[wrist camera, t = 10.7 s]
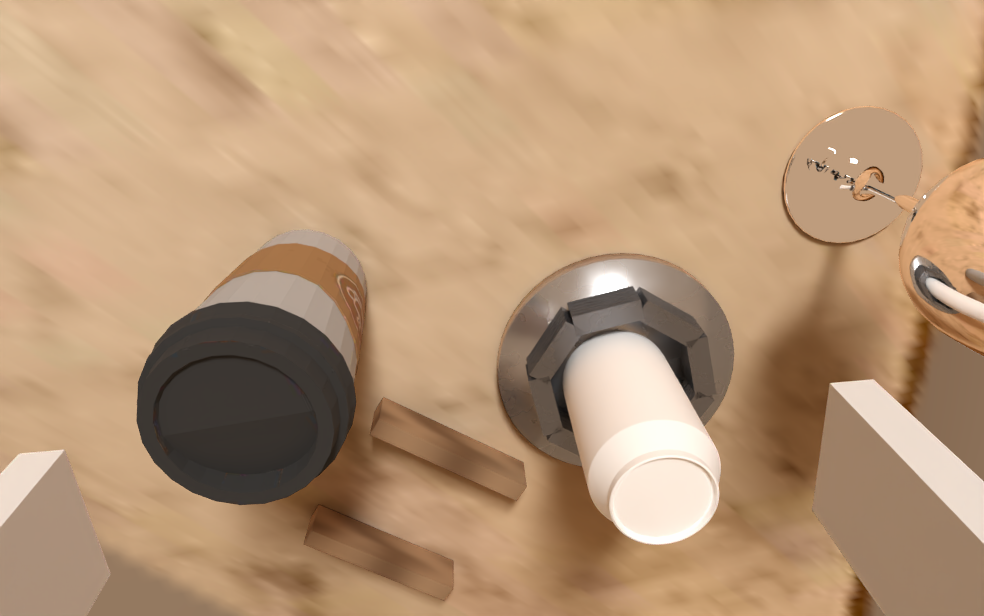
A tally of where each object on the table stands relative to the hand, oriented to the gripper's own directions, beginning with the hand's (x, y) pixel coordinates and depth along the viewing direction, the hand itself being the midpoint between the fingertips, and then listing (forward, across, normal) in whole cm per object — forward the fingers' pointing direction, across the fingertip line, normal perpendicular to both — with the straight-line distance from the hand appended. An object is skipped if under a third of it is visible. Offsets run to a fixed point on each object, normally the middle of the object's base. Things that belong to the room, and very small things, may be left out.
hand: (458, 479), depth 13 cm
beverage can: (+27, +8, -14) cm, 31 cm away
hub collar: (+28, +8, -14) cm, 32 cm away
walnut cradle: (+28, -4, -22) cm, 36 cm away
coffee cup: (+28, -9, -7) cm, 30 cm away
